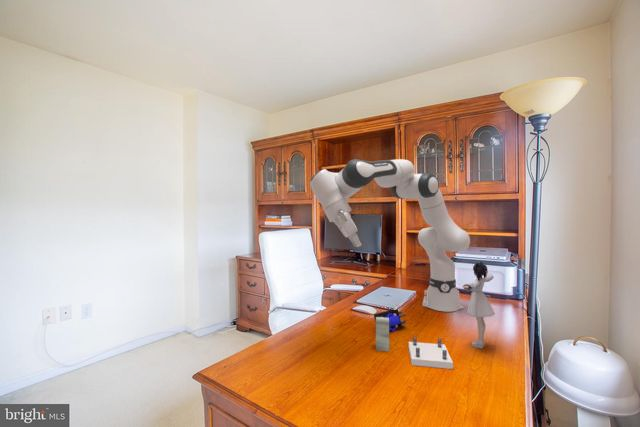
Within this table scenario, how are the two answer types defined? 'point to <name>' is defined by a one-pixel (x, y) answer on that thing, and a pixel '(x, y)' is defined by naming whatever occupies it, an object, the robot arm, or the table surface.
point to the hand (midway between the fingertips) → (358, 246)
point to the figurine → (479, 301)
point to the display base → (430, 354)
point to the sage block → (382, 334)
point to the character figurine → (392, 318)
